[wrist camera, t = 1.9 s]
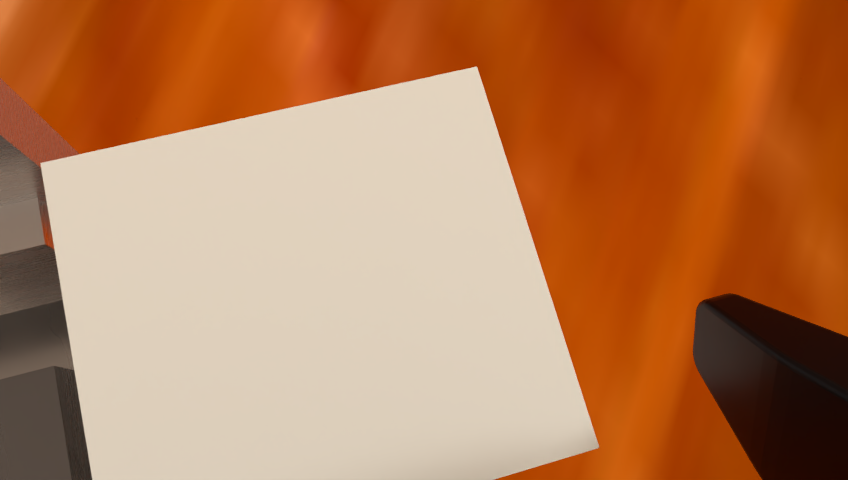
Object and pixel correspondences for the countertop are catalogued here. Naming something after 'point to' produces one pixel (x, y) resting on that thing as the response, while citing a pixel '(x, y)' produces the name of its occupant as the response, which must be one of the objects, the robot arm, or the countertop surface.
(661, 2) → the countertop surface
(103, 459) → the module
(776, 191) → the countertop surface
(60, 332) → the rail mount
